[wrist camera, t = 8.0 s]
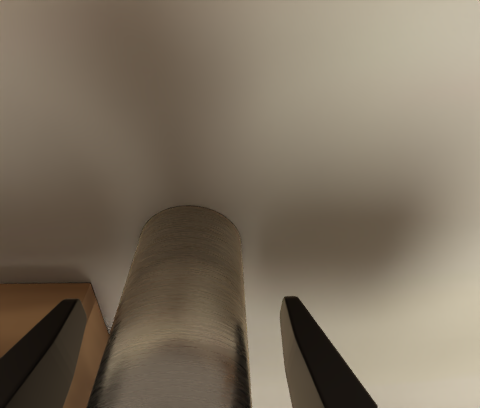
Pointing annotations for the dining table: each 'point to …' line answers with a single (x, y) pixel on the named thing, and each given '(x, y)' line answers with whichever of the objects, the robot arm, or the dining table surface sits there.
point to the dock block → (36, 308)
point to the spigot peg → (179, 319)
